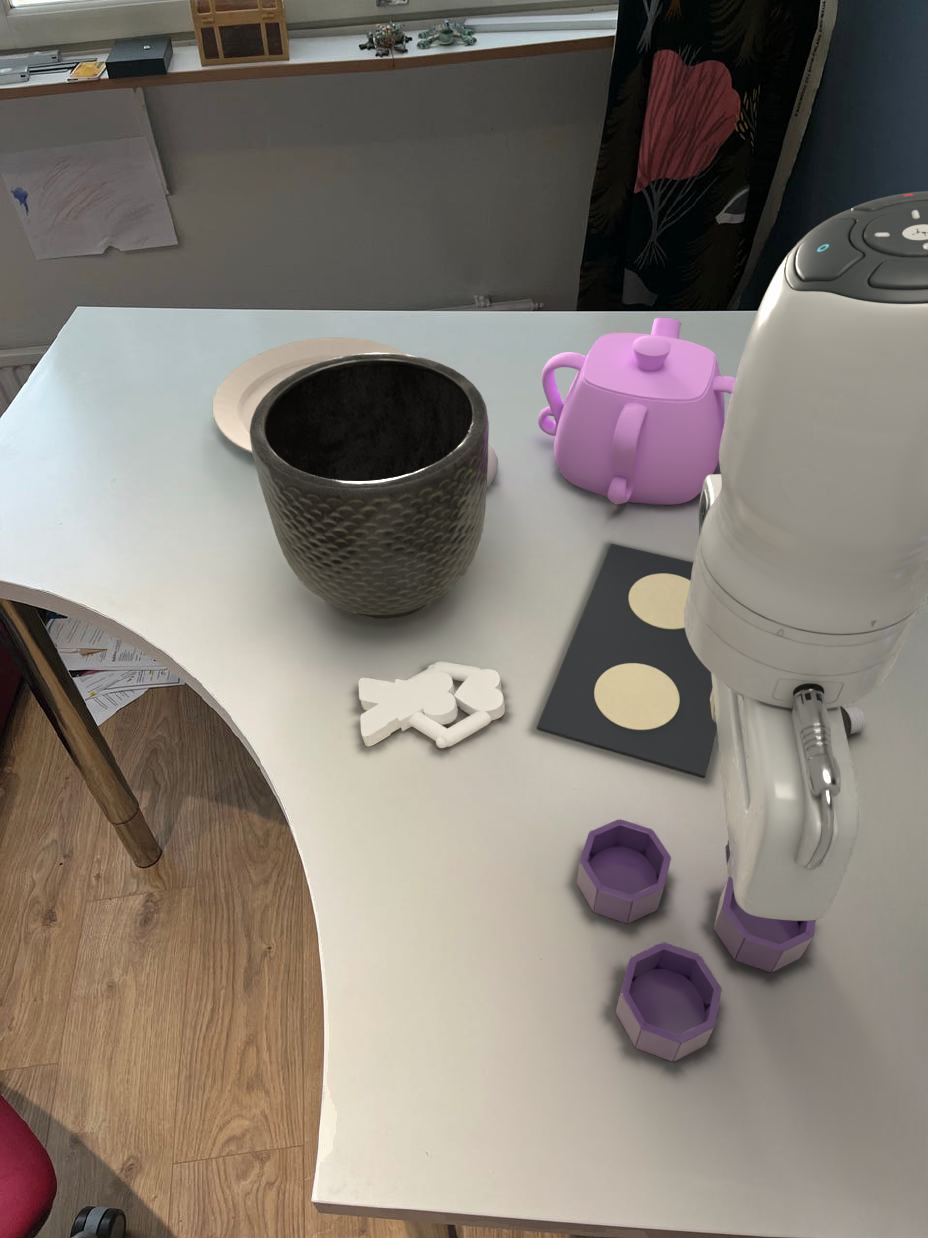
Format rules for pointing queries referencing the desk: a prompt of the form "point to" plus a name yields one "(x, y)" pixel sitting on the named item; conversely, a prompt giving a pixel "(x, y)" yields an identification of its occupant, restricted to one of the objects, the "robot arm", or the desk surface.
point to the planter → (374, 478)
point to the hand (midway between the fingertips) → (733, 785)
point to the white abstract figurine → (431, 703)
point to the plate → (276, 379)
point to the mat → (636, 668)
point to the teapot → (638, 416)
